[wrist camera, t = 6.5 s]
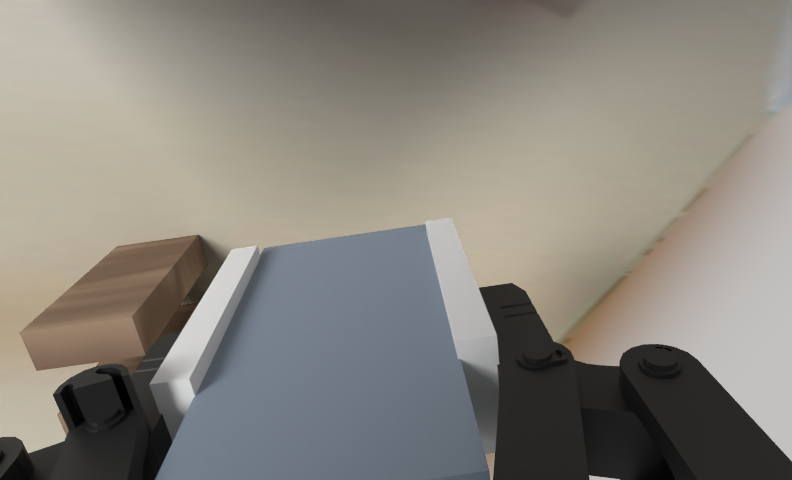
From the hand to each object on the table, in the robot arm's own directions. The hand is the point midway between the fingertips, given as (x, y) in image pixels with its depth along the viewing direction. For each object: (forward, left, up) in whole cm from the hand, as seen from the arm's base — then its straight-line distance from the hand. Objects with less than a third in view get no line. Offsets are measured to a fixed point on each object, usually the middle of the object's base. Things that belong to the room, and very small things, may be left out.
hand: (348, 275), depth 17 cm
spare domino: (0, 0, -1) cm, 1 cm away
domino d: (+12, -7, -17) cm, 22 cm away
